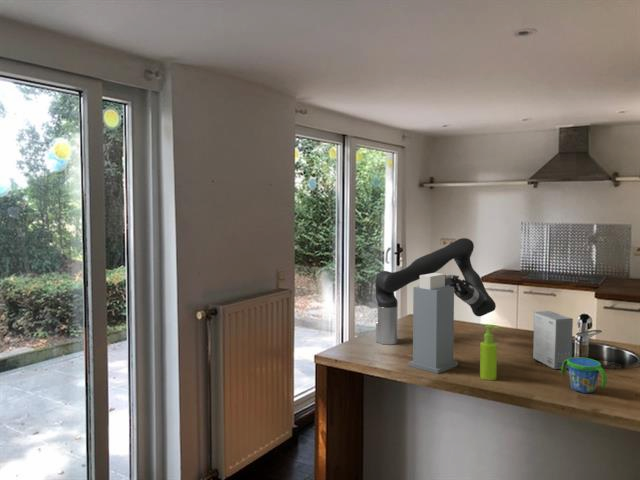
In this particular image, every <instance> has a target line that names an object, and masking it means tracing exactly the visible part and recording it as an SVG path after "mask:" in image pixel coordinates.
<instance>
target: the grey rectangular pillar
mask: <svg viewBox="0 0 640 480" xmlns="http://www.w3.org/2000/svg"><path fill="white" fill-rule="evenodd" d="M412 293H413V294H412V295H413V296H412V297H413V298H412V299H413V300H412V302H413V304H412V305H413V306H412V307H413V308H412V309H413V310H412V312H413V314H412V316H413V317H412V360H410V361H408V363H407V365H408V366H409V367H413V368H416V369H420V370H423V371H427V372H429V373H434V374H436V375H439V374H441V373H443V372H446V371H448V370H450V369H451V370H452V369H453V368H455V367H457V366H459V362H458V361H455V360H454V341H455V340H454V339H455V338H454V336H455V335H454V333H455V330H454V329H455V328H454V327H455V326H454V325H455V323H454V322H455V319H454V318H455V293H454V287H452V286H445V287H440V288H435V289H431V290H429V289H422V288H420V285H417V286H413V292H412Z"/></svg>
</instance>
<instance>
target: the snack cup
mask: <svg viewBox="0 0 640 480" xmlns="http://www.w3.org/2000/svg"><path fill="white" fill-rule="evenodd" d="M566 364H568V366H569V368H568V373H567V368H566ZM560 370H561V371H560V372H561V374H562V375H566V374H569V382H570V388H571V389H572V390H573V391H576V392H580V393H582V394H584V393H585V394H591V393H594V392H595V390H596V388H597V387H596V386H597V383H598V378H599V373H600V375H601V377H602V381H601V385H600V387H601V388H604V387H606V385H607V384H608V383H607V382H608V381H607V379H608V378H607V374H606V371H605V370H604V368H603V367H602V363H601V362H600V361H598V360H595V359H594V358H588V357H582V356H579V357H578V356H574V357H573V356H572V358H569V359H567V360H565V361H564V362H563V364H562V368H561V369H560Z"/></svg>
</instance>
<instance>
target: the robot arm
mask: <svg viewBox="0 0 640 480" xmlns="http://www.w3.org/2000/svg"><path fill="white" fill-rule="evenodd" d="M474 248H475V245H474V242H473V241H472V240H471V239H470V238H467V237H464V238H458V239H456V240H455V241H453V242H451V243H449V244H448V245H446V246H444V247H442V248H439V249H437V250H435V251H433V252H430V253H428V254H425V255H423V256H420V257H418V258H416V259H415V260H414V261H412V262H411V263H410V264H409V265H408V266H407V267H405V268H403V269H401V270H397V271H394V272H392V271H389V270H382V271H380V272H379V273H378V274H377V276H376V278H375V299H376V301H377V321H376V322H375V343H378V344H381V345H396V344H398V340H399V339H398V317H399V316H398V310H399V309H398V300H397V298H396V296H395V292H396V291H399V290H400V289H402V288H404V287H406V286H407V285H409V284H411V283H413V282H416V281H418V280H420V275H425V274H430V273H437V272H438V271H439V270H441V269H442V268H443V267H444V266H446V265H447V264H448V263H449V262H450V261H452V260H454V262H455V264H456V266H457V268H458V269H459V271H460V272H461V274H462V276H463V279H461V278H459V279H458V278H457V277H455V276H454V275H455V274H454V275H453V274H451V275H452V277H451V280H452V281H453V282H454V283H456V284H452V285H447V286H452V287H454V296H456V297H457V298H458V299H460V300H461V301H463V302H464V303H465V304H467V305H468V306H469V307H470V308H471V311H472V313H473V315H475V317H482V316H485V315H487V314H490V313H492V312H494V311H495V310H496V308H497V305H496V302H495V300H494V299H493V298H492V297H491V295H490V294H489V293H488V291H487V290H486V288H485V287H486V286H485V285H484V283H483V280H482V278H481V276H480V275H479V273H477V272H476V270H475V269H474V268H473V265H472V262H471V257H472V254H473V252H474ZM445 276H447V275H446V274H445Z"/></svg>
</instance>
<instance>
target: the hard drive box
mask: <svg viewBox="0 0 640 480" xmlns="http://www.w3.org/2000/svg"><path fill="white" fill-rule="evenodd" d="M573 319H574V318H571V317H569V316H565V315H563V314H560V313H557V312H553V311H549V310H543V311H533V341H532V342H533V343H532V344H533V346H532V347H533V348H532V349H533V350H532V351H533V352H532V357H533V359H535V360H536V361H537V362H540V363H542V364H544V365H545V366H547V367H549V368H551V369H553V370H558V369H559V370H561V368H562V364H563V362H564V361H565V360H567V359H569V358H572V357H573V355H572V354H573V326H574V325H573V323H574V320H573ZM566 369H569V366H568V364H566Z"/></svg>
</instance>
